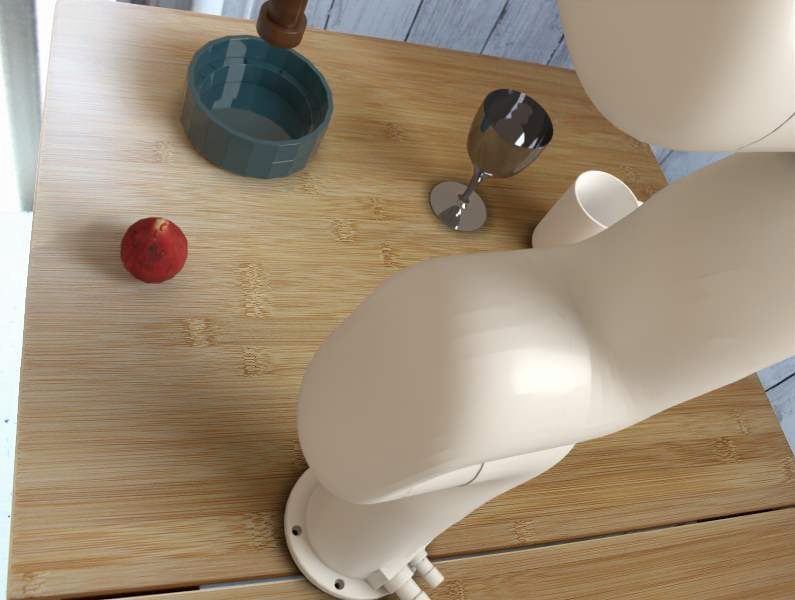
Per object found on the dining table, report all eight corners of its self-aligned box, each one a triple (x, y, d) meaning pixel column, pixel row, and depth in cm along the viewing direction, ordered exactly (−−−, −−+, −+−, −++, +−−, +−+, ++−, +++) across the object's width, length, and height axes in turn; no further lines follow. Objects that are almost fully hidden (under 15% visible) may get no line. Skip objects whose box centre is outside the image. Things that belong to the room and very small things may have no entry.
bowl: (344, 152, 94) (361, 116, 89) (238, 202, 85) (250, 165, 81) (261, 60, 97) (273, 20, 92) (150, 99, 88) (157, 57, 83)
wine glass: (415, 182, 96) (470, 90, 84) (471, 175, 100) (531, 86, 88) (444, 239, 93) (505, 152, 81) (500, 229, 97) (566, 144, 85)
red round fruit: (168, 308, 76) (181, 260, 70) (106, 285, 75) (114, 235, 69) (189, 260, 80) (204, 210, 73) (131, 237, 79) (140, 185, 72)
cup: (518, 226, 98) (562, 172, 90) (595, 217, 104) (642, 165, 96) (548, 286, 95) (596, 235, 87) (625, 272, 101) (677, 224, 93)
